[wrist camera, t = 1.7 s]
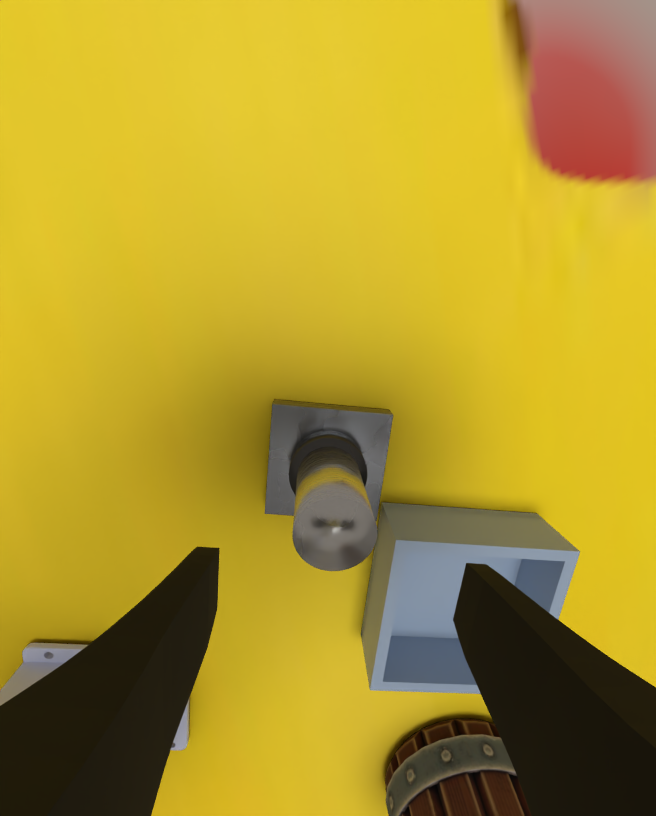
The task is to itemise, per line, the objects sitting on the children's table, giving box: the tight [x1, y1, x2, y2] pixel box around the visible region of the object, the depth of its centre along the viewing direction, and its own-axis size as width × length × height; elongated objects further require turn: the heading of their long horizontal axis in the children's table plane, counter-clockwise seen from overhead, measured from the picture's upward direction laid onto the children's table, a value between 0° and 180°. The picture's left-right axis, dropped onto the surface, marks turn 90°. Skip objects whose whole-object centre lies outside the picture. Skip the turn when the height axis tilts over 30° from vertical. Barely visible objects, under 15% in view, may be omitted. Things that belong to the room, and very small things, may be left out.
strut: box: [289, 430, 377, 571], centre depth 16 cm, size 4×4×6 cm
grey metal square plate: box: [265, 399, 393, 521], centre depth 19 cm, size 6×6×1 cm
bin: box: [361, 502, 580, 694], centre depth 20 cm, size 9×9×4 cm
